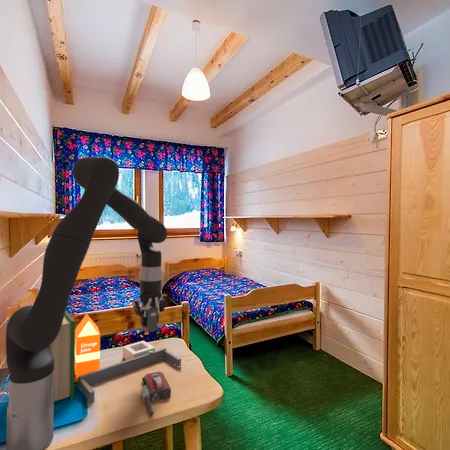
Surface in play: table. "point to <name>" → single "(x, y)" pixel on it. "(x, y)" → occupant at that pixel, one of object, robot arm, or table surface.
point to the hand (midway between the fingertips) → (149, 324)
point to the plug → (151, 320)
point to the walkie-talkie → (154, 388)
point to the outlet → (136, 350)
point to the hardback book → (64, 359)
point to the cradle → (122, 369)
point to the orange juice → (87, 347)
